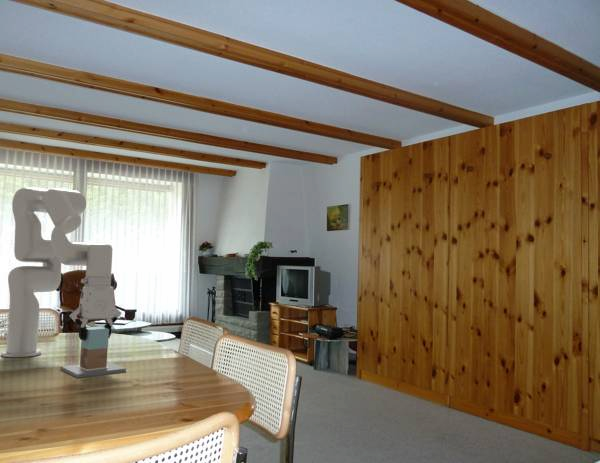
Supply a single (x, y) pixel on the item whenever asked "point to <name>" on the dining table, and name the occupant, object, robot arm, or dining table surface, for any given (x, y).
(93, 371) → the grey flat slab
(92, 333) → the teal block
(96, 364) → the walnut block
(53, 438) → the dining table surface
